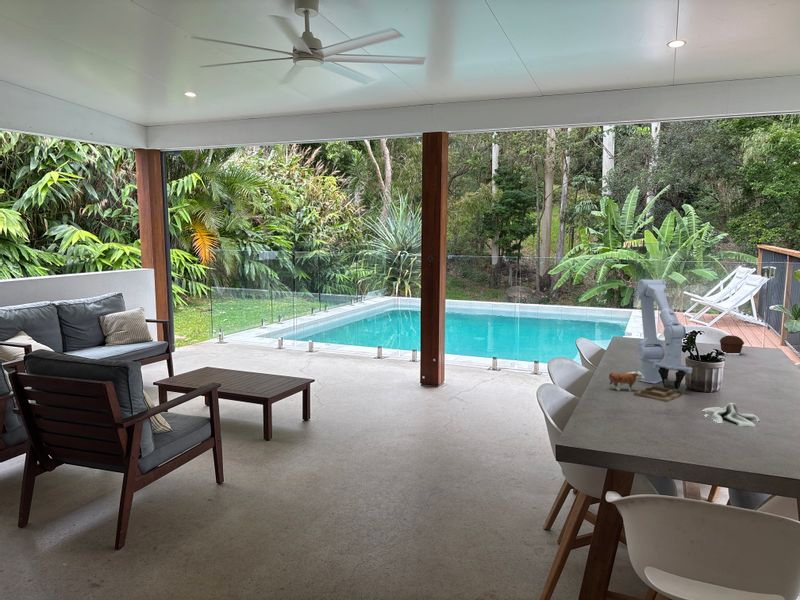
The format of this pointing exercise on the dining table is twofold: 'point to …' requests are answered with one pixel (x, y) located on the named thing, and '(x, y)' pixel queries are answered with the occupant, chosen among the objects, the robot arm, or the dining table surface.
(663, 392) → the brown square tray
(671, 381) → the grey wood-grain block
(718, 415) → the cloth
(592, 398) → the dining table surface
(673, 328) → the robot arm
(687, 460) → the dining table surface
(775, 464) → the dining table surface
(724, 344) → the muffin
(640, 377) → the bull figurine
